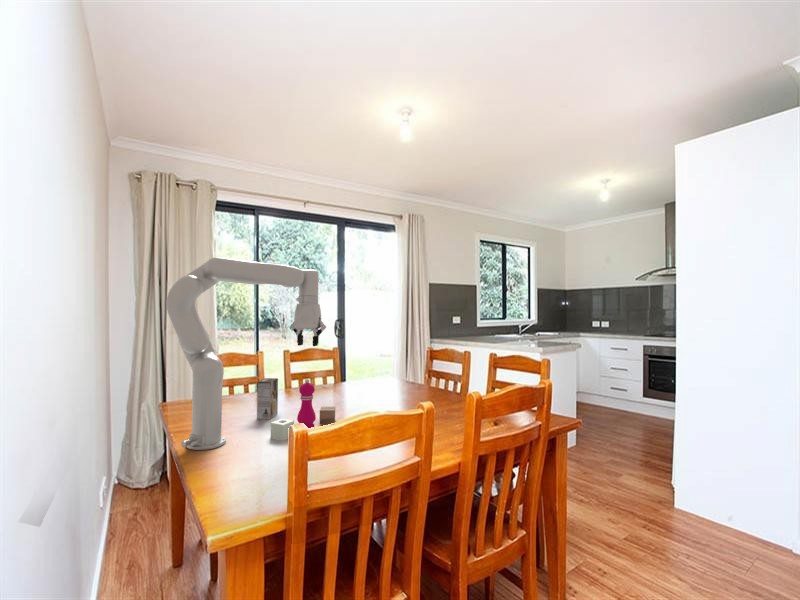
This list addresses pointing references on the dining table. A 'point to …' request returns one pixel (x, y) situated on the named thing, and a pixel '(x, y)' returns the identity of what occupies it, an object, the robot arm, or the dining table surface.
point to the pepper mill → (306, 404)
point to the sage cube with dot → (280, 429)
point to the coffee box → (267, 398)
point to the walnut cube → (327, 415)
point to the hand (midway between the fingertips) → (307, 345)
